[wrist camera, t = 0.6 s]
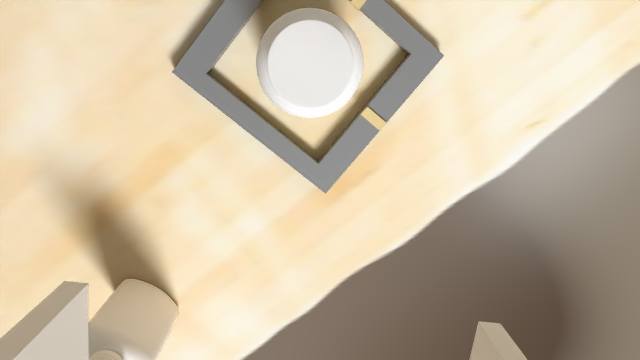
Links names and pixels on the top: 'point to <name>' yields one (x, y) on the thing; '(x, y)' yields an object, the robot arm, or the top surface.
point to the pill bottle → (309, 62)
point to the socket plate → (321, 173)
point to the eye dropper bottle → (132, 323)
